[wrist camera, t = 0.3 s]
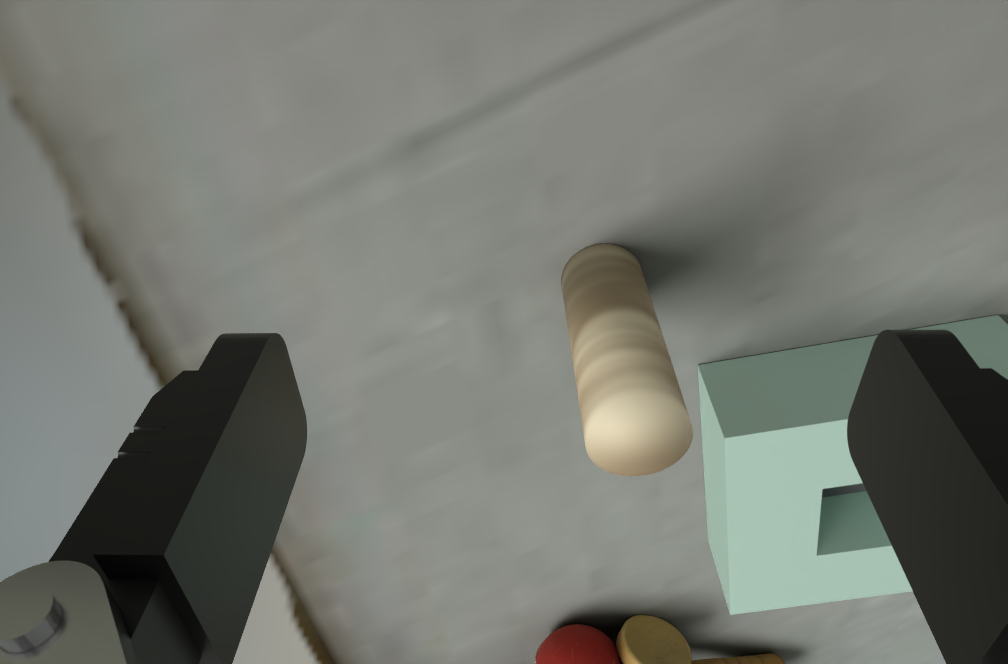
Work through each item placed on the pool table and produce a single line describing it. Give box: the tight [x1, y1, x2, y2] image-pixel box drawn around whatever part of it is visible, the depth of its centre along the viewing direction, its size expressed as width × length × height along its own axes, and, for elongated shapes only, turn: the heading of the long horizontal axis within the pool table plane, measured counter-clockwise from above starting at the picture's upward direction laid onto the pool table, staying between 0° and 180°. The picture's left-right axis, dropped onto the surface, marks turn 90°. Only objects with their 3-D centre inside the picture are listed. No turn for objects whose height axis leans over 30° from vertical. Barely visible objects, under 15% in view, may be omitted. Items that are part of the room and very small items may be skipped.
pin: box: [561, 244, 693, 476], centre depth 28 cm, size 4×4×10 cm
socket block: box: [698, 315, 1008, 615], centre depth 37 cm, size 14×14×5 cm
